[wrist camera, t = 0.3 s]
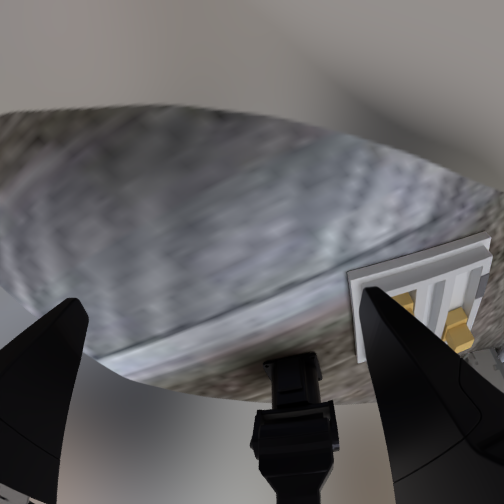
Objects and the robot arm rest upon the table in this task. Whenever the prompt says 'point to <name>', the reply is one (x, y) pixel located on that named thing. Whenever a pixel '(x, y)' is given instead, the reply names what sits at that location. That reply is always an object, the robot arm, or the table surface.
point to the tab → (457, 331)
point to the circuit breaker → (487, 366)
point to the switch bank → (429, 283)
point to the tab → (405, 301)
